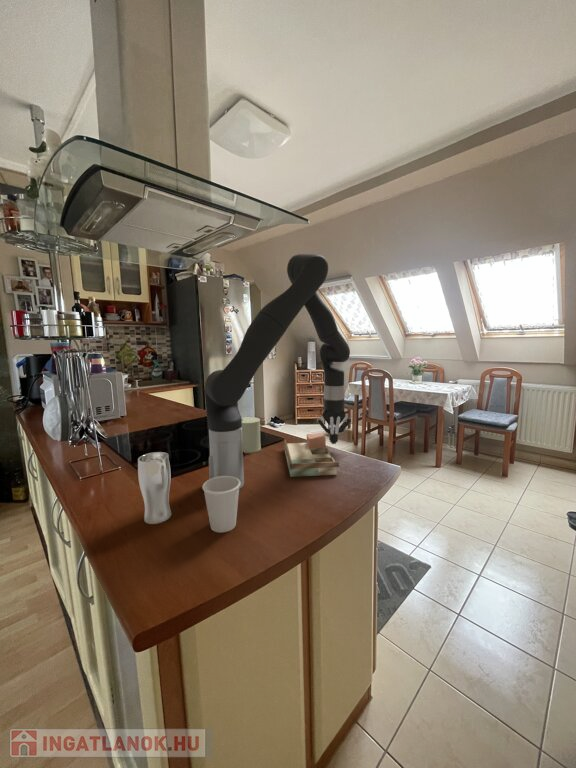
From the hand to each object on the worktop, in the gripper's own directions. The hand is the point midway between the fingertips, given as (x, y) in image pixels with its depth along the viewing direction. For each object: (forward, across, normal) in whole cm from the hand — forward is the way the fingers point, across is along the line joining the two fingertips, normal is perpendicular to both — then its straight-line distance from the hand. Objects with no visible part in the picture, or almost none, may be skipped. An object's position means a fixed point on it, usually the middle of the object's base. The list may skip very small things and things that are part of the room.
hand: (333, 443), depth 118 cm
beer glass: (+4, -52, -39) cm, 65 cm away
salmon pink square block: (+1, -7, 0) cm, 7 cm away
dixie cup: (+4, -36, -44) cm, 57 cm away
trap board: (+3, -11, -8) cm, 14 cm away
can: (+3, -32, +6) cm, 32 cm away
